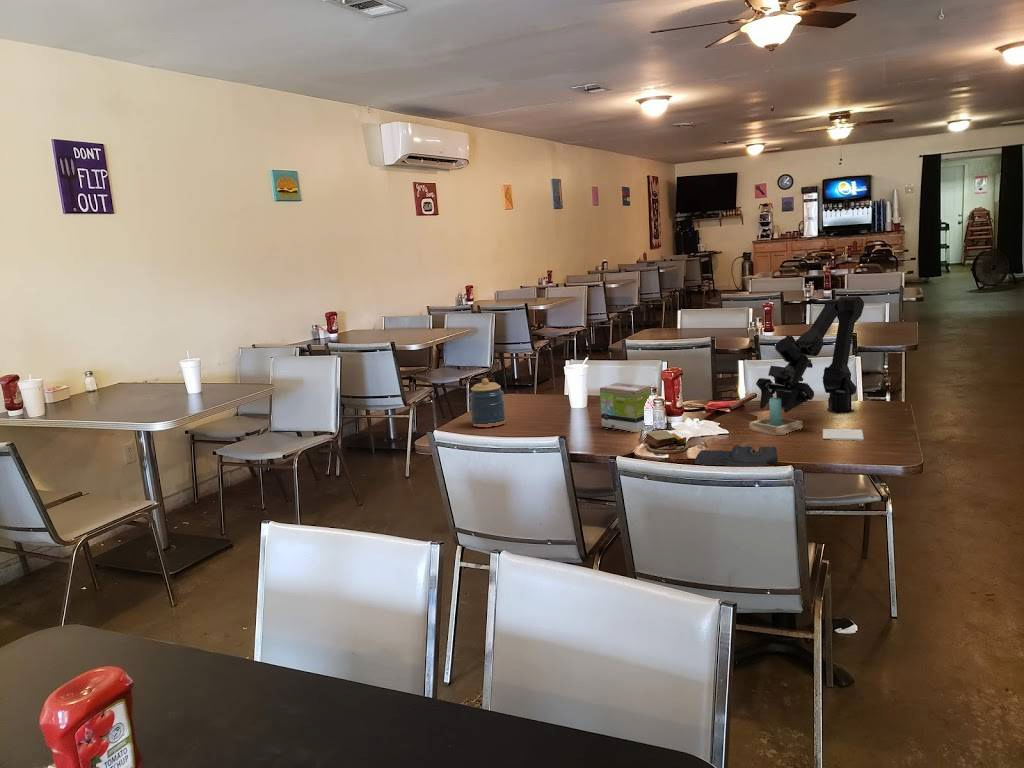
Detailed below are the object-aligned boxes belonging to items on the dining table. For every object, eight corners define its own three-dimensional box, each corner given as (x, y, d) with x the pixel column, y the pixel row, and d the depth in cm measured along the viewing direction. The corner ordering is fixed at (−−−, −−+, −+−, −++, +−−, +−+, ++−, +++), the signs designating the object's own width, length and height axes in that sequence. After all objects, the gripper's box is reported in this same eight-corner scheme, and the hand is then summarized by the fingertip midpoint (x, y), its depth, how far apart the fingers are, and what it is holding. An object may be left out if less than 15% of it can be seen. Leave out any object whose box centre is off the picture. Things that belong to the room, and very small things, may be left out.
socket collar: (772, 423, 248) (772, 416, 248) (802, 428, 239) (802, 421, 238) (749, 430, 242) (749, 422, 242) (779, 435, 233) (779, 427, 232)
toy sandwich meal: (657, 457, 221) (656, 441, 220) (638, 446, 234) (638, 432, 233) (696, 451, 224) (695, 436, 223) (675, 441, 237) (674, 426, 236)
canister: (484, 430, 272) (480, 382, 269) (465, 425, 282) (460, 379, 279) (513, 423, 279) (509, 376, 276) (493, 419, 290) (489, 374, 287)
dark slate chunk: (699, 456, 219) (698, 440, 219) (779, 458, 211) (778, 441, 211) (692, 471, 206) (691, 454, 205) (777, 474, 197) (776, 456, 197)
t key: (770, 426, 244) (769, 396, 243) (788, 430, 238) (788, 399, 237) (763, 428, 242) (762, 398, 241) (781, 432, 237) (780, 401, 235)
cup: (793, 402, 276) (793, 370, 274) (799, 407, 268) (798, 374, 266) (772, 404, 276) (771, 372, 274) (777, 408, 269) (776, 375, 267)
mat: (822, 430, 234) (822, 429, 234) (861, 431, 230) (861, 429, 230) (822, 439, 224) (822, 438, 224) (863, 440, 220) (863, 438, 220)
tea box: (601, 428, 260) (598, 387, 258) (618, 422, 267) (616, 382, 265) (636, 433, 250) (634, 390, 247) (654, 427, 256) (652, 384, 254)
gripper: (758, 353, 246) (736, 392, 242) (808, 357, 231) (785, 399, 227) (775, 373, 252) (753, 411, 248) (824, 379, 236) (802, 419, 232)
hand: (772, 410), depth 239 cm, fingers open, 9 cm apart
